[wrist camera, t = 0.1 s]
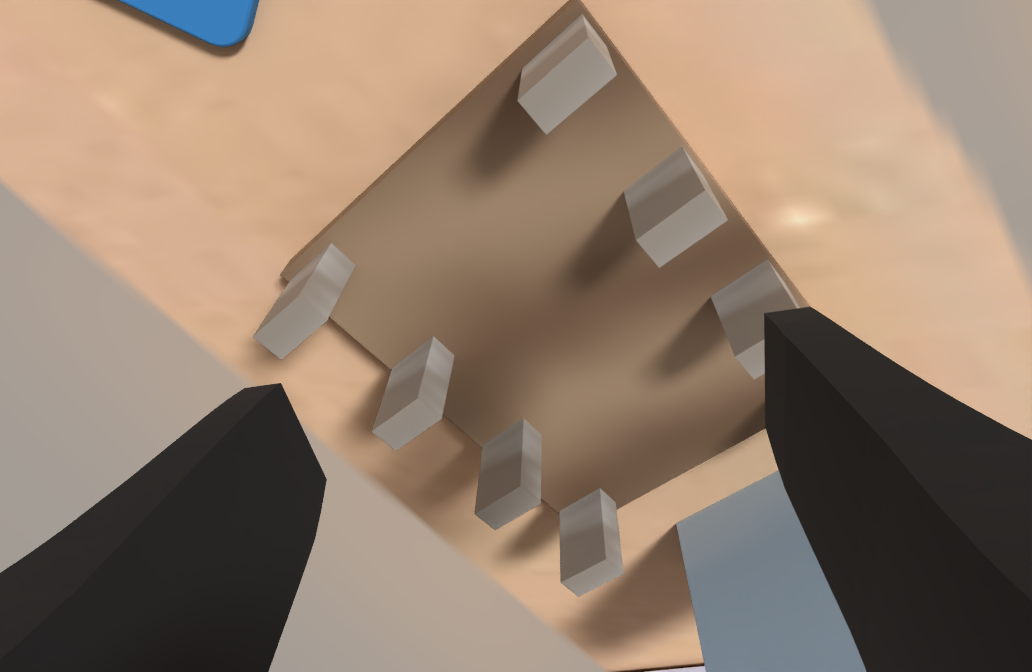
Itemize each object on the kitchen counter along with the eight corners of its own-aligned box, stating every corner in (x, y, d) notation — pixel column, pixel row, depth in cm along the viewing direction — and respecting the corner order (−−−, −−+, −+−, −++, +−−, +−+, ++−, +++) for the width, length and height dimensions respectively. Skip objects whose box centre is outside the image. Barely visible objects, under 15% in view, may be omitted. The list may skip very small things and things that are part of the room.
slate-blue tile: (856, 488, 25) (972, 712, 18) (712, 557, 27) (767, 779, 20) (822, 447, 24) (931, 668, 17) (676, 523, 26) (720, 743, 19)
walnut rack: (848, 357, 22) (903, 443, 18) (577, 509, 26) (581, 602, 22) (575, -7, 16) (583, 20, 13) (291, 258, 20) (240, 331, 17)
